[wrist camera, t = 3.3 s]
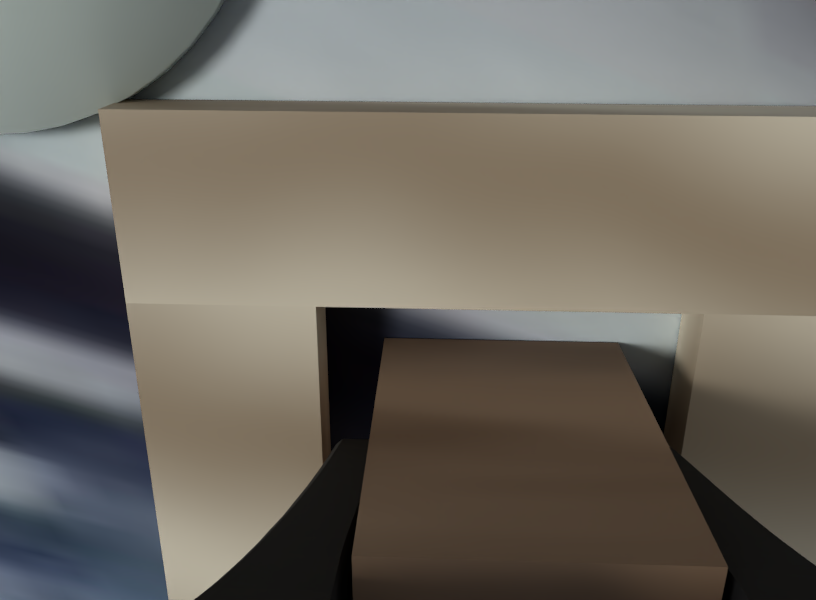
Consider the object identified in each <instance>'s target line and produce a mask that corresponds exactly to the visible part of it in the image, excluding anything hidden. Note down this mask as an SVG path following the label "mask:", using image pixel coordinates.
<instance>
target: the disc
mask: <svg viewBox="0 0 816 600" xmlns="http://www.w3.org/2000/svg"><path fill="white" fill-rule="evenodd" d="M223 2H224V0H0V134H16V133H29V132H34V131H39V130H44V129H49V128H54V127H59V126H64V125H66V124H69V123H72V122H75V121H78V120H80V119H83V118H86V117H89V116H92V115H94V114H97V113H98V109H100V108H102V107H105V106H108V105H110V104H113V103H118V102H121V101H123V100H126V99H128V98H130V97H132V96H134V95H135V94H137V93H139V92H141V91H142V90H143V89H145V88H146V87H147V86H149V85H150V84H151V83H153V82H154V81H155V80H157V79H158V78H159V77H161V76H162V75H163V74H165V73H166V72H167V71H169V70H170V69H171V68H172V67H173V66H174V65H175V63H176V62H177V61H178V60H179V59H180V58H181V57H182V56H183V55H184V54H185V53H186V52H187V51H188V50H189V49H190V48H191V47H192V46H193V45H194V44H195V43H196V42H197V40H198V39H199V38H200V36H201V35H202V33H203V32H204V31H205V29H206V28H207V27H208V25H209V24H210V23H211V21H212V20H213V19H214V17H215V16H216V15H217V13H218V11H219V10H220V8H221V6H222V4H223Z"/></svg>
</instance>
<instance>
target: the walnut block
mask: <svg viewBox="0 0 816 600" xmlns="http://www.w3.org/2000/svg"><path fill="white" fill-rule="evenodd" d="M727 571H728V566H727V564H726V562H725V560H724V557H723V555H722V553H721V551H720V549H719V547H718V545H717V543H716V541H715V539H714V537H713V535H712V533H711V531H710V529H709V527H708V525H707V523H706V521H705V519H704V517H703V515H702V513H701V511H700V509H699V507H698V505H697V502H696V500H695V498H694V496H693V494H692V492H691V490H690V488H689V486H688V484H687V482H686V480H685V478H684V476H683V474H682V472H681V470H680V468H679V466H678V464H677V462H676V460H675V458H674V456H673V454H672V452H671V450H670V448H669V445H668V443H667V441H666V439H665V437H664V435H663V433H662V431H661V429H660V427H659V425H658V423H657V421H656V419H655V417H654V415H653V413H652V411H651V409H650V407H649V405H648V403H647V401H646V399H645V397H644V395H643V393H642V390H641V388H640V386H639V384H638V382H637V380H636V378H635V376H634V374H633V372H632V370H631V368H630V366H629V364H628V362H627V360H626V358H625V356H624V354H623V352H622V350H621V348H620V346H619V344H618V343H606V342H557V341H507V340H457V339H407V338H384V345H383V352H382V358H381V365H380V371H379V378H378V385H377V391H376V398H375V405H374V411H373V418H372V424H371V431H370V438H369V444H368V451H367V458H366V464H365V471H364V477H363V484H362V491H361V497H360V504H359V511H358V517H357V524H356V530H355V537H354V544H353V550H352V587H353V600H722V595H723V590H724V585H725V581H726V576H727Z"/></svg>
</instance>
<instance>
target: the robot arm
mask: <svg viewBox="0 0 816 600" xmlns="http://www.w3.org/2000/svg"><path fill="white" fill-rule="evenodd" d="M368 444H369V439H342V440H340V441H339V442H338V443H337V444H336V445H335V447H334V448H333V450H332V451H331V453H330V455H329V456H328V458H327V459H326V461H325V462H324V463H323V465H322V466H321V468H320V469H319V471H318V472H317V473H316V475H315V476H314V477H313V479H312V480H311V481H310V483H309V484H308V485H307V487H306V488H305V489H304V490H303V492H302V493H301V494H300V495H299V497H298V498H297V499H296V500H295V502H294V503H293V504H292V505H291V507H290V508H289V509H288V510H287V511H286V513H285V514H284V515H283V516H282V517H281V518H280V519H279V520H278V522H277V523H276V524H275V525H274V526H273V527H272V528H271V529H270V530H269V531H268V532H267V533H266V535H265V536H264V537H263V538H262V539H261V540H260V541H259V542H258V543H257V544H256V545H255V546H254V547H253V548H252V549H251V550H250V551H249V552H248V553H247V554H246V555H245V556H244V557H243V558H242V559H241V560H240V561H239V562H238V563H237V564H236V565H235V566H234V567H232V568H231V569H230V570H229V571H228V572H227V573H226V574H225V575H223V576H222V577H221V578H220V579H219V580H218V581H217V582H215V583H214V584H213V585H212V586H211V587H209V588H208V589H207V590H206V591H204V592H203V593H202V594H201V595H199V596H198V597H197V598H195V599H194V600H353V587H352V550H353V544H354V537H355V530H356V524H357V517H358V511H359V504H360V497H361V491H362V484H363V477H364V471H365V464H366V458H367V451H368ZM669 448H670V450H671V452H672V454H673V456H674V458H675V460H676V462H677V464H678V466H679V468H680V470H681V472H682V474H683V476H684V478H685V480H686V482H687V484H688V486H689V488H690V490H691V492H692V494H693V496H694V498H695V500H696V502H697V505H698V507H699V509H700V511H701V513H702V515H703V517H704V519H705V521H706V523H707V525H708V527H709V529H710V531H711V533H712V535H713V537H714V539H715V541H716V543H717V545H718V547H719V549H720V551H721V553H722V555H723V557H724V560H725V562H726V564H727V566H728V571H727V576H726V581H725V585H724V590H723V595H722V600H816V565H814V564H813V563H811V562H810V561H809V560H807V559H806V558H805V557H803V556H802V555H801V554H799V553H798V552H797V551H795V550H794V549H793V548H791V547H790V546H789V545H787V544H786V543H785V542H783V541H782V540H781V539H779V538H778V537H777V536H775V535H774V534H773V533H772V532H770V531H769V530H768V529H767V528H765V527H764V526H763V525H762V524H760V523H759V522H758V521H757V520H755V519H754V518H753V517H752V516H751V515H749V514H748V513H747V512H746V511H745V510H743V509H742V508H741V507H740V506H739V505H737V504H736V503H735V502H734V501H733V500H732V499H730V498H729V497H728V496H727V495H726V494H725V493H723V492H722V491H721V490H720V489H719V488H718V487H717V486H715V485H714V484H713V483H712V482H711V481H710V480H709V479H707V478H706V477H705V476H704V475H703V474H702V473H701V472H700V471H698V470H697V469H696V468H695V467H694V466H693V465H692V464H690V463H689V462H688V461H687V460H686V459H685V458H684V457H682V456H681V455H680V454H679V453H678V452H676V451H675V450H674V449H673V448H671V447H669Z"/></svg>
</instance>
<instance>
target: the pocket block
mask: <svg viewBox="0 0 816 600" xmlns="http://www.w3.org/2000/svg"><path fill="white" fill-rule="evenodd" d="M98 113H99V120H100V127H101V134H102V141H103V147H104V154H105V161H106V168H107V175H108V182H109V189H110V196H111V203H112V210H113V217H114V224H115V231H116V238H117V244H118V251H119V258H120V265H121V272H122V279H123V286H124V293H125V300H126V307H127V314H128V321H129V328H130V335H131V341H132V348H133V355H134V362H135V369H136V376H137V383H138V390H139V397H140V404H141V411H142V418H143V425H144V432H145V438H146V445H147V452H148V459H149V466H150V473H151V480H152V487H153V494H154V501H155V508H156V515H157V522H158V529H159V535H160V542H161V549H162V556H163V563H164V570H165V577H166V584H167V591H168V598H169V600H194V599H195V598H197V597H198V596H199V595H201V594H202V593H203V592H204V591H206V590H207V589H208V588H209V587H211V586H212V585H213V584H214V583H215V582H217V581H218V580H219V579H220V578H221V577H222V576H223V575H225V574H226V573H227V572H228V571H229V570H230V569H231V568H232V567H234V566H235V565H236V564H237V563H238V562H239V561H240V560H241V559H242V558H243V557H244V556H245V555H246V554H247V553H248V552H249V551H250V550H251V549H252V548H253V547H254V546H255V545H256V544H257V543H258V542H259V541H260V540H261V539H262V538H263V537H264V536H265V535H266V533H267V532H268V531H269V530H270V529H271V528H272V527H273V526H274V525H275V524H276V523H277V522H278V520H279V519H280V518H281V517H282V516H283V515H284V514H285V513H286V511H287V510H288V509H289V508H290V507H291V505H292V504H293V503H294V502H295V500H296V499H297V498H298V497H299V495H300V494H301V493H302V492H303V490H304V489H305V488H306V487H307V485H308V484H309V483H310V481H311V480H312V479H313V477H314V476H315V475H316V473H317V472H318V471H319V469H320V468H321V466H322V465H323V463H324V462H325V461H326V459H327V458H328V456H329V455H330V453H331V440H330V414H329V389H328V363H327V337H326V311H325V307H355V308H408V309H462V310H515V311H569V312H622V313H676V314H682V316H681V323H680V329H679V336H678V342H677V349H676V356H675V362H674V369H673V375H672V382H671V389H670V395H669V402H668V408H667V415H666V422H665V428H664V437H665V439H666V441H667V443H668V445H669V447H671V448H673V449H674V450H675V451H676V452H678V453H679V454H680V455H681V456H682V457H684V458H685V459H686V460H687V461H688V462H689V463H690V464H692V465H693V466H694V467H695V468H696V469H697V470H698V471H700V472H701V473H702V474H703V475H704V476H705V477H706V478H707V479H709V480H710V481H711V482H712V483H713V484H714V485H715V486H717V487H718V488H719V489H720V490H721V491H722V492H723V493H725V494H726V495H727V496H728V497H729V498H730V499H732V500H733V501H734V502H735V503H736V504H737V505H739V506H740V507H741V508H742V509H743V510H745V511H746V512H747V513H748V514H749V515H751V516H752V517H753V518H754V519H755V520H757V521H758V522H759V523H760V524H762V525H763V526H764V527H765V528H767V529H768V530H769V531H770V532H772V533H773V534H774V535H775V536H777V537H778V538H779V539H781V540H782V541H783V542H785V543H786V544H787V545H789V546H790V547H791V548H793V549H794V550H795V551H797V552H798V553H799V554H801V555H802V556H803V557H805V558H806V559H807V560H809V561H810V562H811V563H813V564H814V565H816V106H741V105H643V104H546V103H449V102H352V101H254V100H157V99H126V100H123V101H121V102H118V103H113V104H110V105H108V106H105V107H102V108H100V109H98Z"/></svg>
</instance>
